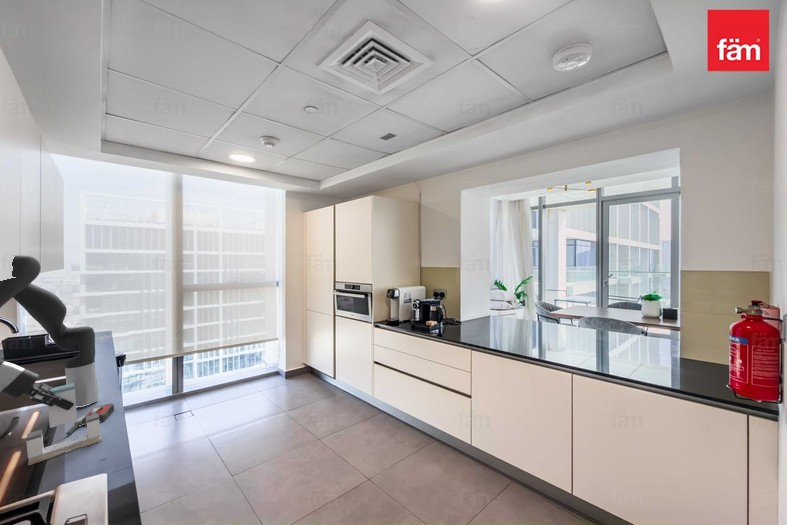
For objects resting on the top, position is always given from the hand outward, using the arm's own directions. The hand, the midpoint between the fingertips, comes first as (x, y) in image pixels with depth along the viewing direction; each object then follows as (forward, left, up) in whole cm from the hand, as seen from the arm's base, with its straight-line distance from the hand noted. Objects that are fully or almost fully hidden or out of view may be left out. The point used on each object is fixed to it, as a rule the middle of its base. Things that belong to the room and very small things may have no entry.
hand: (71, 404), depth 104 cm
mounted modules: (+1, -2, -12) cm, 12 cm away
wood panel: (+1, -2, -13) cm, 13 cm away
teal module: (+1, -2, -5) cm, 5 cm away
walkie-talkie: (-19, -5, -14) cm, 24 cm away
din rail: (+1, -2, -13) cm, 13 cm away
